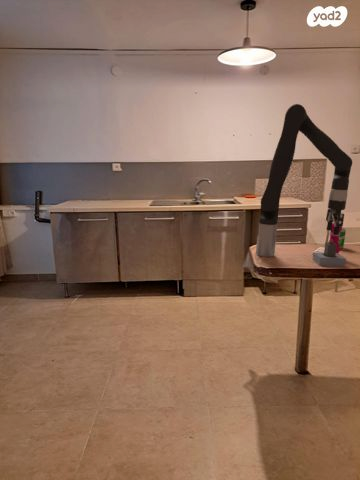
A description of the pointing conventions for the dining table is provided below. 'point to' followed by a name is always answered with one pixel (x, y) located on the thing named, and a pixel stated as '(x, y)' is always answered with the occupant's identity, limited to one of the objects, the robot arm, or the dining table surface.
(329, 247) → the block
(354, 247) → the dining table surface
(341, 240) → the soda can
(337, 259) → the socket box
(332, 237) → the pepper mill
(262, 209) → the robot arm
